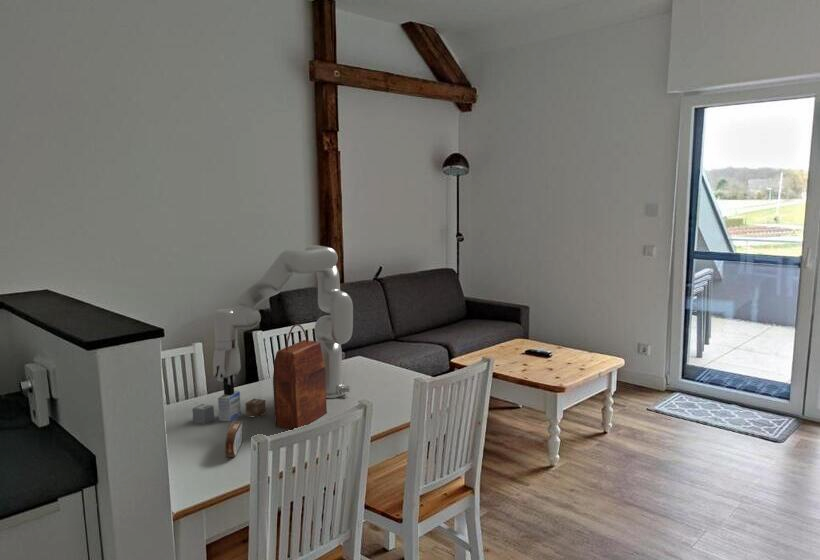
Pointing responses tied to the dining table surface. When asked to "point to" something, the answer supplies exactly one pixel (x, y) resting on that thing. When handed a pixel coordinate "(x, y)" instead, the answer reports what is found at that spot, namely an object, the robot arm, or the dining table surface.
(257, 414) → the walnut block
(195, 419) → the slate-grey block
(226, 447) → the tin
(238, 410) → the medicine box
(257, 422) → the dining table surface
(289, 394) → the handbag
